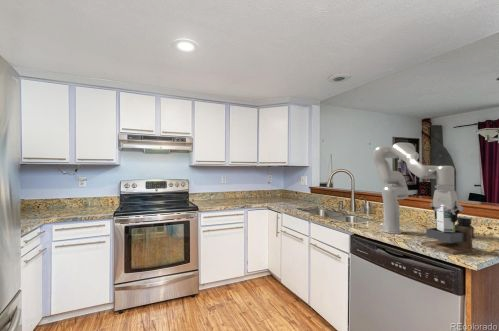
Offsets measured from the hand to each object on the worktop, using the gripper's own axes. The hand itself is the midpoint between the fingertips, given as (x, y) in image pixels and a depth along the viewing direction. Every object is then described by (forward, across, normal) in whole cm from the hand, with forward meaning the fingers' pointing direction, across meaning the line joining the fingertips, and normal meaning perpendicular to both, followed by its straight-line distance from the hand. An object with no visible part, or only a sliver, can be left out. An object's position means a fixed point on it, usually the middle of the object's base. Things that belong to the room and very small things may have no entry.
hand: (445, 220), depth 129 cm
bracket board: (+15, 0, 0) cm, 15 cm away
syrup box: (+6, 0, 0) cm, 6 cm away
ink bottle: (+15, -13, +37) cm, 42 cm away
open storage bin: (+10, 0, 0) cm, 10 cm away
